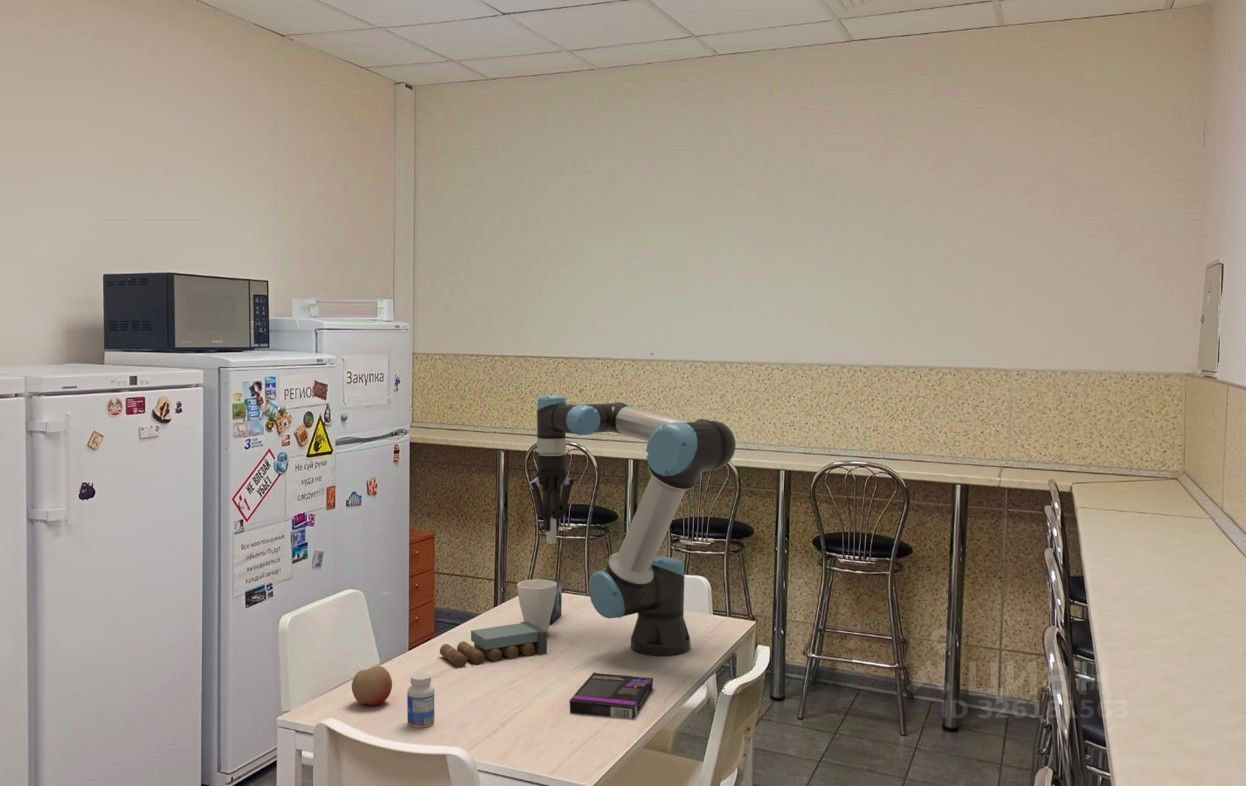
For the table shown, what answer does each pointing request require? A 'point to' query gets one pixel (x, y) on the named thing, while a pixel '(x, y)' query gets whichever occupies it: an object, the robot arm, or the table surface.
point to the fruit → (372, 686)
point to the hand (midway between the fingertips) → (551, 543)
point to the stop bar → (539, 639)
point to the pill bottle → (420, 701)
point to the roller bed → (482, 652)
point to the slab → (504, 636)
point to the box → (611, 695)
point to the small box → (556, 601)
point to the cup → (537, 601)
